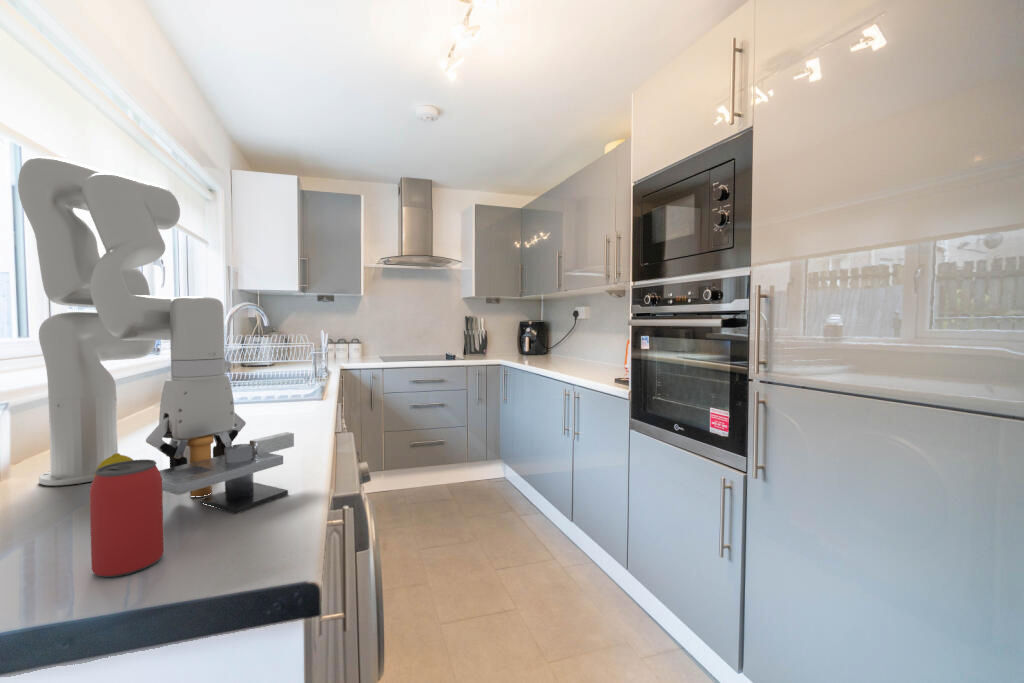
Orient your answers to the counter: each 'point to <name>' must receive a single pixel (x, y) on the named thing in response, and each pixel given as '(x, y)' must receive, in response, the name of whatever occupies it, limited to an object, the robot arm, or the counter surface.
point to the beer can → (126, 518)
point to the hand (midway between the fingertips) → (200, 473)
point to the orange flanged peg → (200, 458)
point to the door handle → (232, 474)
